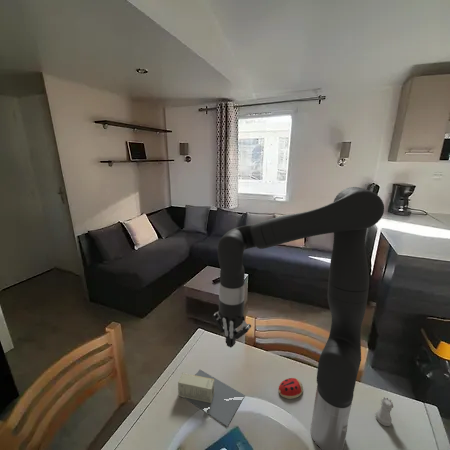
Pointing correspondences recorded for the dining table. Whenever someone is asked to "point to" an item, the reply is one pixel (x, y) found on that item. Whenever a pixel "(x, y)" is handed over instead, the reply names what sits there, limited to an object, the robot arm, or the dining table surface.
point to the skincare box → (196, 387)
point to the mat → (219, 401)
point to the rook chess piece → (384, 412)
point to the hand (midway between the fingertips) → (230, 345)
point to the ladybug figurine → (290, 388)
